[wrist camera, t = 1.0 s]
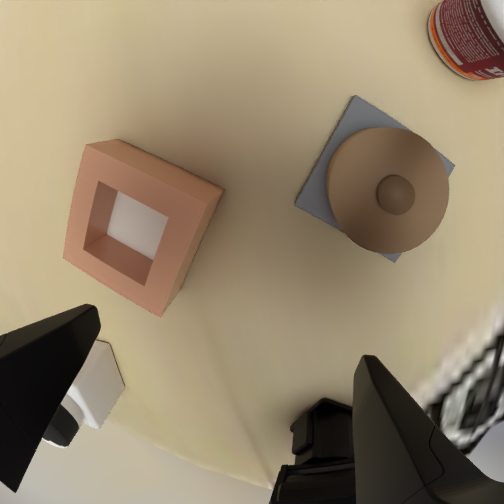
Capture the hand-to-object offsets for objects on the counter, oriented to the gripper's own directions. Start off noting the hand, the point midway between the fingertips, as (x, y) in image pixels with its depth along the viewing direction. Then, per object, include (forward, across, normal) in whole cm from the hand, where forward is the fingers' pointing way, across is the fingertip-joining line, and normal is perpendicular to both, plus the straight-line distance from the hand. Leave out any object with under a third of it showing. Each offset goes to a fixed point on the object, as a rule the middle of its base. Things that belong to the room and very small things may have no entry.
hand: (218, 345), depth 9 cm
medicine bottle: (+13, +18, +19) cm, 29 cm away
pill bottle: (+13, -13, -16) cm, 24 cm away
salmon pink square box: (+13, +9, +1) cm, 15 cm away
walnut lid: (+12, -7, -4) cm, 14 cm away
